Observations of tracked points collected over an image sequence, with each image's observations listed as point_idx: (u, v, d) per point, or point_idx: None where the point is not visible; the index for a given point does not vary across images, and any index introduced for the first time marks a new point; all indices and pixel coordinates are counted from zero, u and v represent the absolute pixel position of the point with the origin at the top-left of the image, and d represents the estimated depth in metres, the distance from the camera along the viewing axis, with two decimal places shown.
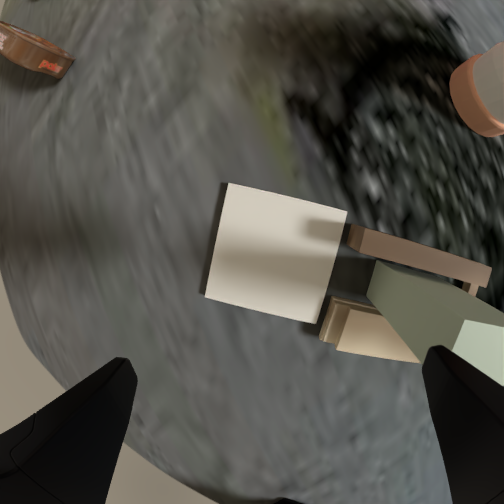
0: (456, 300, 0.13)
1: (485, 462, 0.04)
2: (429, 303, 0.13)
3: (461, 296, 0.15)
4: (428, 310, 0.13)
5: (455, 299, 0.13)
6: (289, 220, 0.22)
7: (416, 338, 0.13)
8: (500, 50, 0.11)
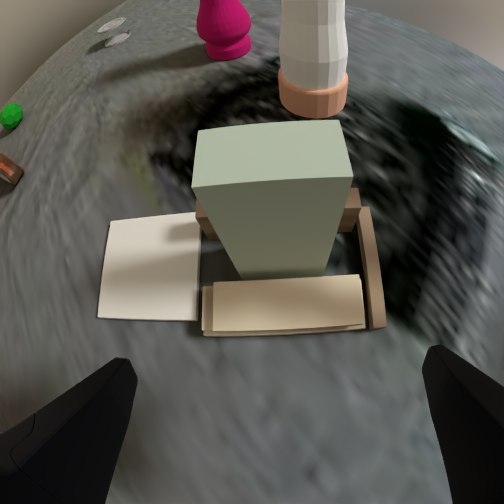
0: None
1: (485, 462, 0.04)
2: None
3: None
4: None
5: None
6: (155, 233, 0.25)
7: None
8: None
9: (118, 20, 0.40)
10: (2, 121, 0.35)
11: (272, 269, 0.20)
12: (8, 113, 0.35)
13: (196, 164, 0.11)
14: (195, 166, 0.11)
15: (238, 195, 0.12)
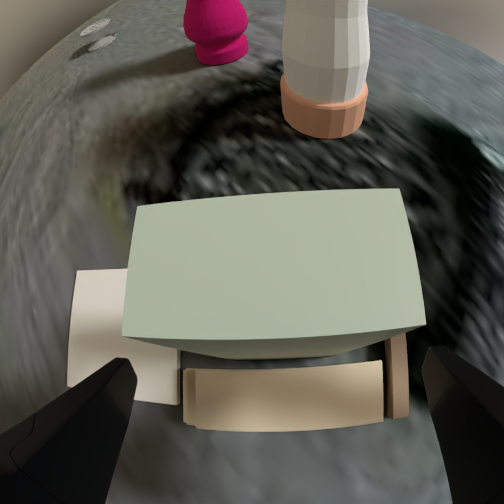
0: None
1: (485, 462, 0.04)
2: None
3: None
4: None
5: None
6: None
7: None
8: None
9: (102, 22, 0.36)
10: None
11: None
12: None
13: (129, 284, 0.06)
14: (128, 289, 0.06)
15: (208, 343, 0.06)
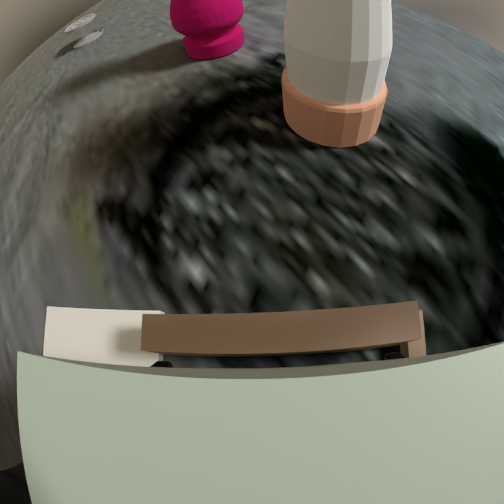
0: None
1: None
2: None
3: (303, 368, 0.07)
4: None
5: None
6: (99, 337, 0.15)
7: None
8: None
9: (88, 16, 0.31)
10: None
11: None
12: None
13: (32, 484, 0.02)
14: (31, 490, 0.02)
15: None
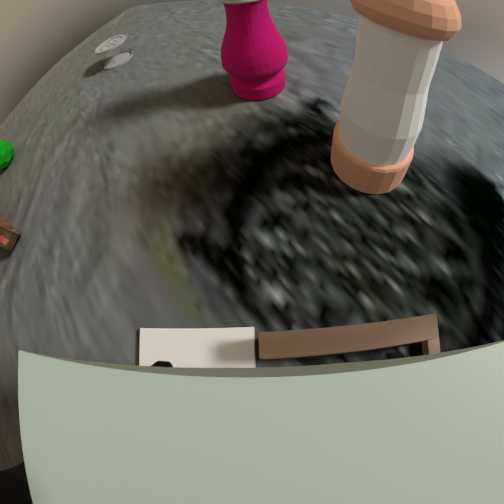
0: (230, 370, 0.06)
1: None
2: None
3: None
4: None
5: (235, 370, 0.06)
6: (199, 351, 0.21)
7: None
8: (344, 93, 0.19)
9: (118, 37, 0.37)
10: None
11: None
12: None
13: (32, 483, 0.02)
14: (32, 489, 0.02)
15: None
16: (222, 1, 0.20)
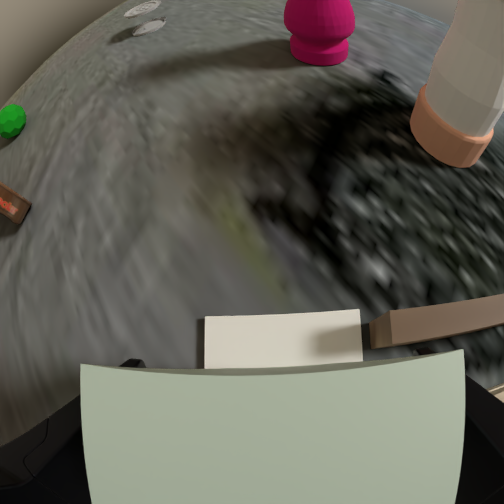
0: None
1: (468, 469, 0.04)
2: None
3: None
4: None
5: None
6: (291, 343, 0.16)
7: None
8: (440, 57, 0.14)
9: (151, 3, 0.32)
10: None
11: None
12: (7, 117, 0.26)
13: (90, 469, 0.03)
14: (89, 473, 0.03)
15: None
16: None
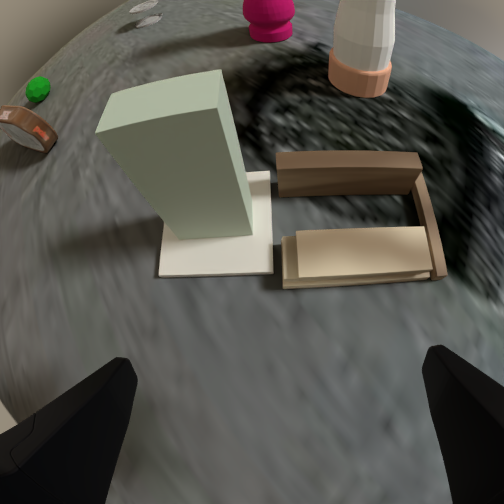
0: None
1: (486, 462, 0.04)
2: None
3: None
4: None
5: None
6: None
7: None
8: (335, 21, 0.23)
9: (150, 2, 0.40)
10: (28, 93, 0.35)
11: (198, 223, 0.21)
12: (36, 85, 0.35)
13: (102, 117, 0.12)
14: (101, 118, 0.12)
15: (130, 137, 0.13)
16: None
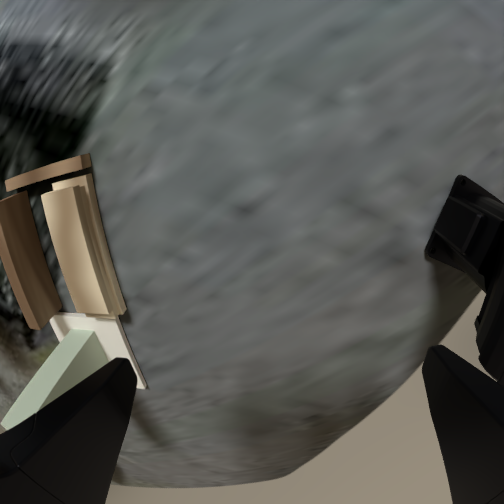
0: None
1: (485, 462, 0.04)
2: None
3: None
4: None
5: None
6: None
7: None
8: None
9: None
10: None
11: None
12: None
13: None
14: None
15: None
16: None
